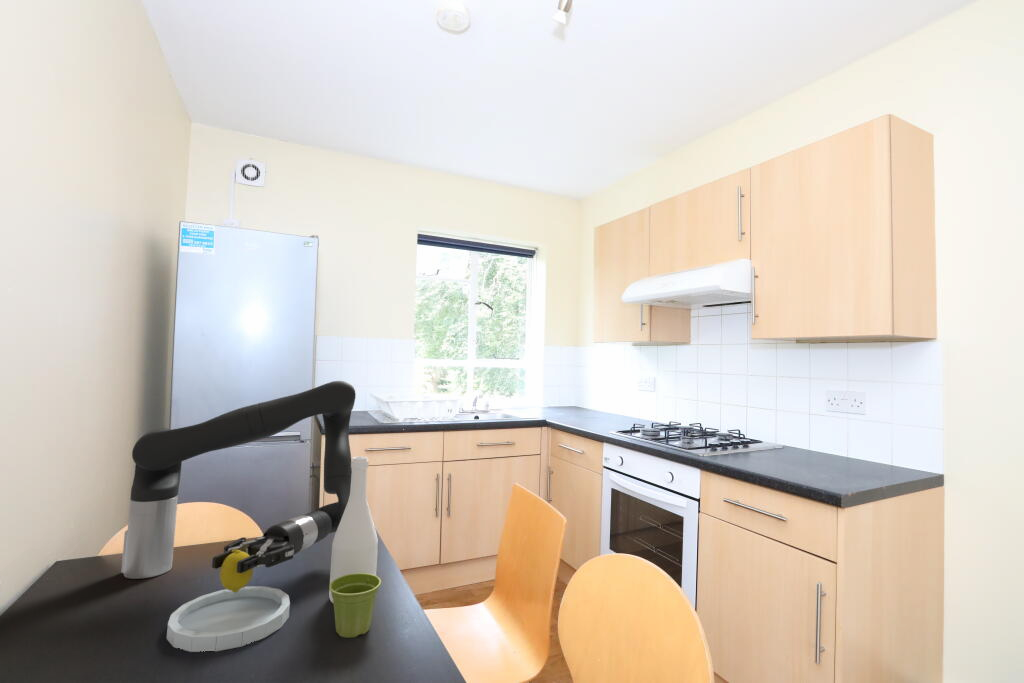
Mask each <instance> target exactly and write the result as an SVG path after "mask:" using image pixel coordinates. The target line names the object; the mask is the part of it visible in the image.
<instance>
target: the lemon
mask: <svg viewBox="0 0 1024 683" xmlns="http://www.w3.org/2000/svg"><path fill="white" fill-rule="evenodd" d="M247 557H249V555H248V552H247V551H246V552H243V551H240V550H236V551H235V552H234V553H232V554H230V555H229V556H228V557H227V558H226V559H225V560H224V562H223V564H222V567H220V570H219V572H220V573H219V577H220V578H219V579H220V583H221V585H222V587H224V588H225V589H228V590H232V591H233V592H234V593H236V592H238V591H239V590H240V589H241V588H243V587H245V586H248V584H249V582H250V581H251V579H252V576H253V572H254V568H252V569H250V570H247V571H245V572H243V573H237V563H238V562H239V561H240V560H242V559H245V558H247Z"/></svg>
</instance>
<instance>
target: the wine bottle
mask: <svg viewBox="0 0 1024 683" xmlns="http://www.w3.org/2000/svg"><path fill="white" fill-rule="evenodd" d="M351 468H352V475H351V488H350V496H349V500H348V503H347V506H346V508H345V511H344V513H343V516H342V519H341V521H340V524H339V526H338V529H337V531H336V532H335V534H334V537H333V540H332V544H331V558H330V572H329V584H330V583H331V582H332V581H333V580H335V579H336V578H339V577H341V576H344V575H348V574H355V573H368V574H373V575H376V576H377V566H378V565H377V564H378V549H379V546H378V544H379V540H378V534H377V530H376V527H375V524H374V520H373V517H372V512H371V509H370V506H369V502H368V497H367V496H368V495H367V485H368V484H367V481H368V468H369V458H368V456H353V457H352V459H351ZM328 590H329V592H328V598H329V600H330V603H332V604H333V605H334V603H333V598H332V593H331V591H330V589H329V588H328Z"/></svg>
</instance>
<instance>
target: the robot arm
mask: <svg viewBox="0 0 1024 683" xmlns="http://www.w3.org/2000/svg"><path fill="white" fill-rule="evenodd" d="M355 402H356V389H355V388H354V386H353V385H352V384H351V383H349V382H347V381H344V380H335V381H330V382H328V383H324V384H321V385H319V386H316V387H313V388H311V389H308V390H305V391H302V392H299V393H294V394H291V395H287V396H283V397H280V398H279V397H278V398H275V399H271V400H267V401H262V402H259V403H255V404H250V405H246V406H243V407H240V408H237V409H234V410H231V411H228V412H225V413H223V414H220V415H218V416H215V417H213V418H210V419H209V420H206V421H204V422H201V423H198V424H192V425H188V426H184V427H178V428H174V429H171V428H167V427H160V428H154V429H151V430H149V431H148V432H145V434H143V435H142V436H141V437H139V439H137V441H136V442H135V444H134V446H133V448H132V453H131V455H132V456H131V457H132V460H133V462H134V463H135V466H134V467H135V468H134V475H133V481H132V484H131V489H130V490H131V491H130V498H129V499H130V500H129V509H128V521H127V530H125V532H124V535H123V536H124V537H123V546H122V557H121V558H122V560H121V570H120V573H121V574H123V576H124V578H126V579H130V580H131V579H132V580H133V579H148V578H153V577H157V576H161V575H163V574H166V573H167V572H169V571H170V570H172V568H173V559H174V558H173V556H174V550H175V549H174V548H175V535H176V534H175V533H176V524H177V514H178V513H177V511H178V500H179V498H178V496H179V490H180V482H181V475H182V464H183V462H184V461H187V460H189V459H192V458H195V457H197V456H200V455H203V454H208V453H209V452H210V453H211V452H213V451H214V452H215V451H218V450H219V451H220V450H223V449H228V448H232V447H236V446H242V445H246V444H249V443H252V442H256V441H258V440H263V439H266V438H269V437H272V436H275V435H277V434H279V433H281V432H283V431H285V430H287V429H288V428H290V427H292V426H294V425H295V424H297V423H299V422H301V421H303V420H305V419H308V418H311V417H314V416H319V415H322V419H323V425H324V437H325V438H324V439H325V441H324V442H325V444H324V458H323V490H324V492H325V493H327V494H329V495H336V497H337V501H336V502H333V503H328V504H325V505H323V506H321V507H318V508H317V509H315V510H313V511H310V512H308V513H306V514H302V515H299V516H295V517H294V516H293V517H292V518H290V519H287V520H284V521H282V522H279V523H276V524H274V525H272V526H270V527H269V528H267V529H266V531H264V533H263V534H262V536H259V537H256V538H254V539H252V540H251V539H250V540H248V541H247V537H240V538H238V539H236V540H234V541H233V542H230V543H228V544H227V545H225V546H223V552H222V553H220V554H217V555H214V556H213V557H212V561H211V562H212V563H211V567H212V569H219V568H221V567H222V564H223V562H224V560H225V559H226V558H227V557H228V556H229V555H230V554H232V553H234V552H235V551H236V550H240V551H243V552H246V553H247V554H248V555H249V557H247V558H245V559H242V560H240V561H239V562H238V563H237V573H243V572H245V571H247V570H250V569H252V568H253V569H254V568H261V567H262V566H265V568H271V567H273V566H276V565H280V564H282V563H284V562H288V561H290V560H293V559H294V555H297V554H298V553H301V552H302V551H305V550H306V549H308V548H309V547H311V546H312V545H315V544H316V543H318V542H320V541H322V540H324V539H325V538H326V537H328V535H330V534H332V533H336V531H337V529H338V526H339V524H340V521H341V519H342V516H343V513H344V511H345V508H346V506H347V503H348V500H349V496H350V488H351V475H352V468H351V461H352V453H351V446H350V436H349V435H350V433H349V432H350V422H351V415H352V411H353V409H354V406H355Z"/></svg>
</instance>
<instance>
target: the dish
mask: <svg viewBox="0 0 1024 683" xmlns="http://www.w3.org/2000/svg"><path fill="white" fill-rule="evenodd" d="M290 607H291V601H290V596H289V594H287V592H284V591H283V590H281V589H280V588H275V587H268V586H264V585H263V586H253V585H252V586H249V585H246V586H244V587H243V588H241V589H240V590H239V591H238V592H236V593H234V592H233V591H232V590H228V589H226V588H225V589H221V590H217V591H214V592H213V591H212V592H211V593H207V594H204V595H200V596H198V597H196V598H195V599H194V598H193V599H192V600H189V601H188V602H186V603H183V604H182V605H181V606H180V607H178V608H177V609H175V610H174V611H173V612H172V613H170V617H169V620H168V621H167V628H166V629H167V630H166V640H167V641H168V643H169V644H170V645H171V646H172V647H173V648H175V649H178V648H180V649H179V650H182V649H183V651H187V652H190V653H193V652H194V653H200V651H201V653H202V652H203V651H204V653H206V652H205V651H215V652H219V651H224V650H230V649H234V648H235V649H236V648H240V647H243V646H246V644H247V645H249V644H252V643H255V642H256V641H260V640H262V639H265V638H267V637H268V636H270V635H272V634H273V633H275V632H276V631H277V630H279V629H281V628H282V627H283V626H284V624H285V623H286V622H287V620H288V619H289V618H290ZM254 641H255V642H254ZM251 642H252V643H251Z"/></svg>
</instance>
